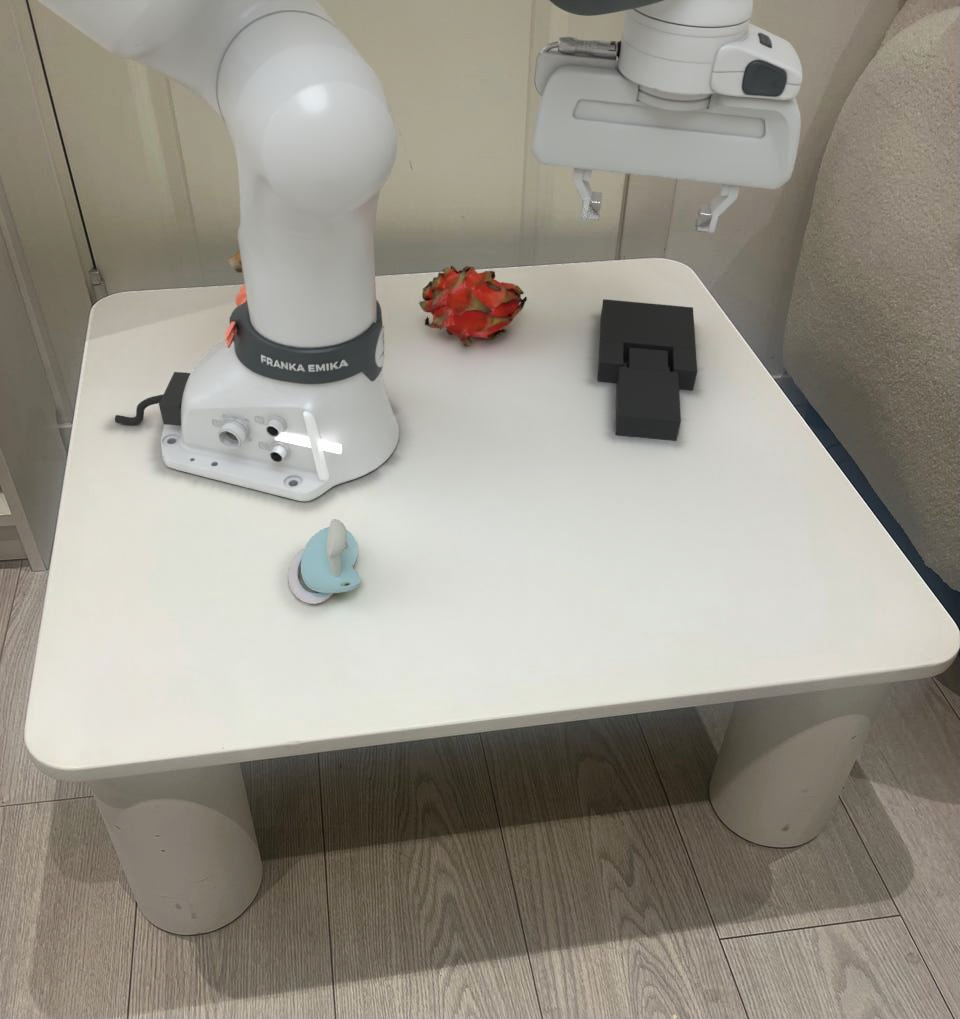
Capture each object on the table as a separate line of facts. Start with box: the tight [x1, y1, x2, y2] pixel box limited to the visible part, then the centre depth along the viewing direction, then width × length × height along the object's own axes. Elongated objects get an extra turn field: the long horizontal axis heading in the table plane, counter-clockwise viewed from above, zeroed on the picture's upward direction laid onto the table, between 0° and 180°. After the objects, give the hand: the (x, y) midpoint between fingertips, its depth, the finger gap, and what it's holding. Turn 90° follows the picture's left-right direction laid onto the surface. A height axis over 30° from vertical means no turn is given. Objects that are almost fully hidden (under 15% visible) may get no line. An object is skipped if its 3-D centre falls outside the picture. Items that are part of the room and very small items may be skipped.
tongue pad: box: [615, 348, 682, 441], centre depth 103 cm, size 12×6×2 cm, turn 174°
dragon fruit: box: [418, 265, 528, 346], centre depth 109 cm, size 8×8×12 cm
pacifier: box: [287, 518, 361, 605], centre depth 83 cm, size 7×6×6 cm
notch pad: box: [596, 298, 698, 391], centre depth 109 cm, size 12×10×2 cm
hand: (646, 223), depth 83 cm, fingers open, 8 cm apart
